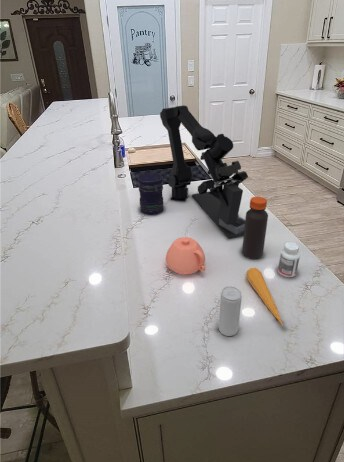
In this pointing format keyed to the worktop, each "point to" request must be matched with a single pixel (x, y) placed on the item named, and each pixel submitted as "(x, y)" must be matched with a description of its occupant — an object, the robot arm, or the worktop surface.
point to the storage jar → (151, 193)
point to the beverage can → (229, 310)
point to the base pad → (212, 209)
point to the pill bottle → (289, 260)
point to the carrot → (262, 290)
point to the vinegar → (255, 228)
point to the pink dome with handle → (185, 256)
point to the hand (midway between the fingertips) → (232, 204)
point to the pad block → (230, 204)
